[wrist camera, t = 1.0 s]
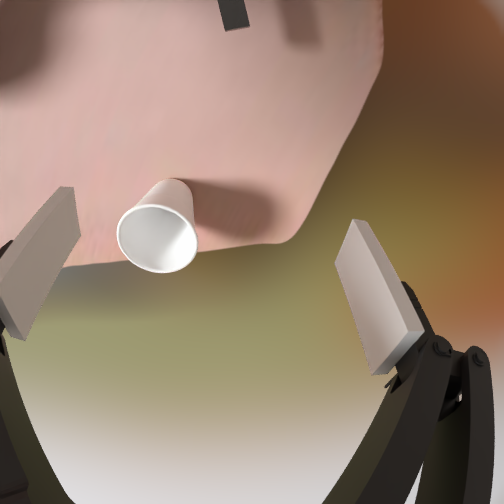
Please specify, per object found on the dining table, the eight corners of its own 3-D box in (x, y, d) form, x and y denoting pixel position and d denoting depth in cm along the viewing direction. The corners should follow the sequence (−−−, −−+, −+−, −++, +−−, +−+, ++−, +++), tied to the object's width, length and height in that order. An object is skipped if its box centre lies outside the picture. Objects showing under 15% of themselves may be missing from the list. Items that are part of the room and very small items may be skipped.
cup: (170, 151, 39) (150, 187, 30) (220, 197, 43) (216, 244, 35) (126, 195, 42) (101, 239, 34) (174, 235, 47) (162, 285, 39)
